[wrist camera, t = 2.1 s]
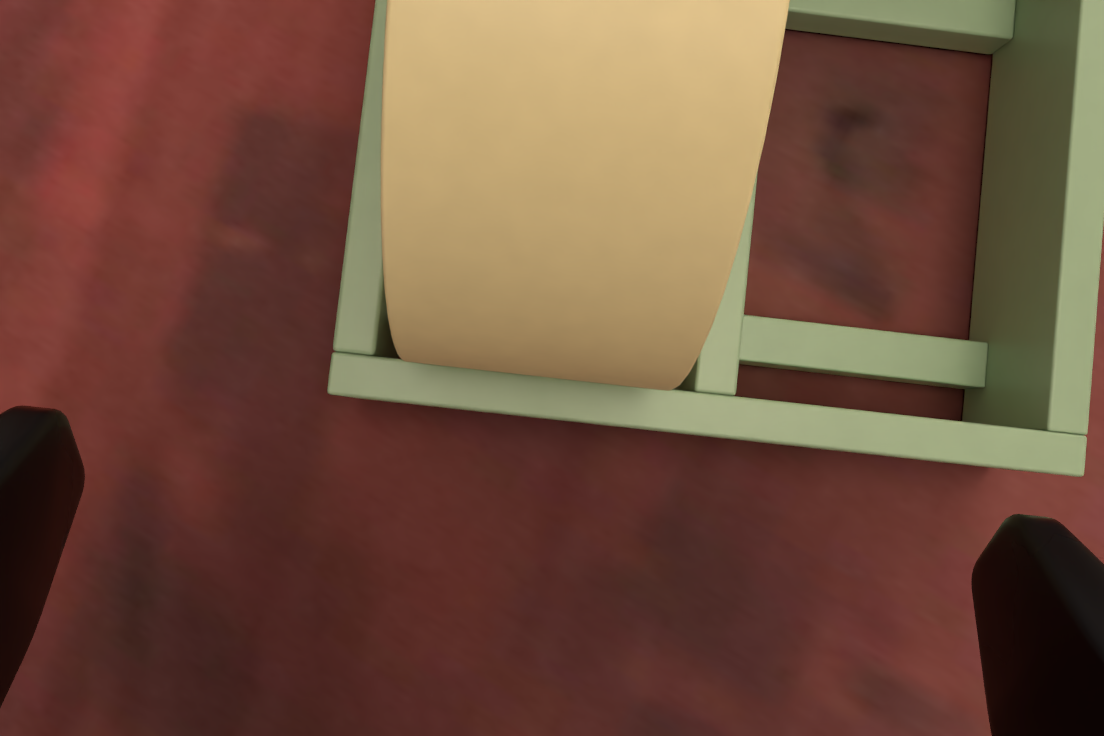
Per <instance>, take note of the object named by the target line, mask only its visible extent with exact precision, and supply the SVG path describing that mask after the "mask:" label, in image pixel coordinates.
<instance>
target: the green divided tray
mask: <svg viewBox="0 0 1104 736" xmlns="http://www.w3.org/2000/svg"><path fill="white" fill-rule="evenodd" d="M386 8H387V0H375V8H374V16H373V25H372V33H371V41H370V49H369V57H368V65H367V73H366V81H365V90H364V98H363V106H362V114H361V122H360V130H359V138H358V146H357V155H356V163H355V171H354V179H353V187H352V195H351V203H350V211H349V219H348V228H347V236H346V244H345V252H344V260H343V268H342V276H341V284H340V293H339V301H338V309H337V317H336V325H335V333H334V341H333V349H334V351H336V352H334V353H332V355H331V364H330V372H329V380H328V388H327V392H328V394H330V395H336V396H344V397H352V398H359V399H368V400H377V401H386V402H396V403H405V404H414V405H423V406H432V407H441V408H450V409H459V410H469V411H478V412H487V413H496V414H505V415H514V416H523V417H533V418H542V419H551V420H560V421H569V422H578V423H587V424H596V425H606V426H615V427H624V428H633V429H642V430H651V431H660V432H669V433H679V434H688V435H697V436H706V437H715V438H724V439H733V440H743V441H752V442H761V443H770V444H779V445H788V446H797V447H806V448H816V449H825V450H834V451H843V452H852V453H861V454H870V455H879V456H889V457H898V458H907V459H916V460H925V461H934V462H943V463H953V464H962V465H971V466H980V467H989V468H999V469H1008V470H1018V471H1028V472H1038V473H1048V474H1057V475H1067V476H1077V477H1081V476H1083V475H1084V469H1085V455H1086V442H1087V438H1086V436H1084V435H1085V434H1087V432H1088V419H1089V406H1090V393H1091V379H1092V366H1093V353H1094V340H1095V327H1096V313H1097V300H1098V287H1099V274H1100V261H1101V247H1102V234H1103V221H1104V0H790V2H789V9H788V16H787V21H786V27H785V29H791V30H799V31H807V32H815V33H823V34H831V35H839V36H847V37H855V38H863V39H871V40H879V41H887V42H895V43H903V44H911V45H919V46H927V47H935V48H943V49H951V50H959V51H967V52H975V53H983V54H993V59H992V71H991V83H990V95H989V107H988V119H987V131H986V143H985V155H984V167H983V179H982V191H981V203H980V215H979V227H978V239H977V251H976V263H975V275H974V287H973V299H972V311H971V322H970V334H969V340H961V339H952V338H943V337H934V336H926V335H917V334H908V333H899V332H891V331H882V330H873V329H864V328H856V327H847V326H838V325H829V324H821V323H812V322H803V321H794V320H786V319H777V318H768V317H759V316H751V315H744V306H745V296H746V285H747V275H748V265H749V255H750V244H751V234H752V224H753V214H754V204H755V193H756V183H757V175H756V179H755V183H754V188H753V192H752V196H751V200H750V204H749V208H748V212H747V215H746V219H745V223H744V227H743V231H742V234H741V238H740V242H739V246H738V249H737V253H736V256H735V259H734V262H733V266H732V269H731V272H730V275H729V279H728V282H727V285H726V288H725V292H724V294H723V297H722V300H721V303H720V306H719V308H718V311H717V314H716V317H715V319H714V322H713V325H712V327H711V330H710V332H709V334H708V337H707V339H706V341H705V343H704V346H703V348H702V350H701V353H700V355H699V356H698V358H697V360H696V362H695V364H694V365H693V367H692V369H691V371H690V373H689V374H688V375H687V377H686V378H685V379H684V380H683V382H682V383H681V384H680V385H679V386H677V387H676V388H674V389H672V390H670V391H666V390H657V389H648V388H639V387H630V386H621V385H612V384H603V383H594V382H585V381H576V380H567V379H558V378H549V377H540V376H531V375H522V374H513V373H504V372H495V371H486V370H477V369H468V368H459V367H450V366H441V365H432V364H423V363H414V362H405V361H403V360H402V359H398V354H397V351H396V349H395V346H394V343H393V340H392V336H391V331H390V326H389V321H388V314H387V306H386V298H385V289H384V275H383V260H382V236H381V116H382V84H383V62H384V41H385V22H386ZM757 173H758V170H757ZM739 364H743V365H752V366H761V367H770V368H778V369H787V370H796V371H805V372H814V373H823V374H832V375H841V376H850V377H859V378H867V379H876V380H885V381H894V382H903V383H912V384H921V385H930V386H939V387H947V388H956V389H965V394H964V406H963V418H962V421H953V420H944V419H935V418H926V417H917V416H908V415H899V414H890V413H881V412H872V411H863V410H854V409H845V408H836V407H827V406H818V405H809V404H800V403H791V402H782V401H773V400H764V399H755V398H746V397H737V396H734V395H735V394H736V388H737V377H738V367H739Z"/></svg>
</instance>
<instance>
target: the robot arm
mask: <svg viewBox="0 0 1104 736" xmlns="http://www.w3.org/2000/svg"><path fill="white" fill-rule="evenodd" d="M84 480H85V473H84V466H83V463H82V460H81V457H80V454H79V451H78V448H77V445H76V442H75V439H74V436H73V433H72V430H71V427H70V424H69V421H68V419H67V417H66V416H65V415H64V414H63V413H62V412H61V411H59V410H56V409H50V408H41V407H32V406H16V407H13V408H10V409H8V410H7V411H5V412H3V413H2V414H0V707H1V705H2V703H3V701H4V699H5V697H6V694H7V692H8V690H9V688H10V686H11V684H12V682H13V680H14V677H15V675H16V673H17V671H18V669H19V667H20V665H21V663H22V661H23V658H24V656H25V654H26V651H27V649H28V647H29V645H30V642H31V640H32V638H33V635H34V633H35V630H36V627H37V624H38V622H39V619H40V616H41V614H42V611H43V608H44V605H45V602H46V599H47V596H48V593H49V590H50V587H51V584H52V581H53V578H54V575H55V572H56V569H57V566H58V563H59V560H60V557H61V554H62V551H63V548H64V546H65V543H66V540H67V537H68V534H69V531H70V528H71V525H72V522H73V519H74V516H75V513H76V510H77V507H78V504H79V501H80V498H81V495H82V492H83V487H84ZM972 594H973V602H974V610H975V617H976V625H977V633H978V640H979V648H980V656H981V664H982V671H983V679H984V687H985V694H986V702H987V710H988V716H989V722H990V728H991V734H992V736H1104V564H1103V563H1102V562H1101V561H1100V560H1099V559H1098V558H1097V557H1096V556H1095V555H1094V554H1093V553H1092V552H1091V551H1090V550H1089V549H1088V548H1087V547H1086V546H1084V545H1083V544H1082V543H1081V542H1080V541H1079V540H1078V539H1077V538H1076V537H1075V536H1074V535H1073V534H1072V533H1071V532H1070V531H1069V530H1068V529H1067V528H1066V527H1065V526H1064V525H1062V524H1061V523H1060V522H1058V521H1057V520H1055V519H1052V518H1048V517H1040V516H1031V515H1022V514H1015V515H1012V516H1010V517H1008V518H1006V519H1005V520H1004V522H1003V523H1002V524H1001V526H1000V527H999V529H998V530H997V532H996V533H995V535H994V536H993V538H992V539H991V541H990V542H989V544H988V545H987V546H986V548H985V549H984V551H983V552H982V554H981V555H980V557H979V558H978V560H977V562H976V563H975V566H974V569H973V573H972Z"/></svg>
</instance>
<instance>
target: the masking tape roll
mask: <svg viewBox="0 0 1104 736" xmlns="http://www.w3.org/2000/svg"><path fill="white" fill-rule="evenodd" d="M789 2H790V0H387V8H386V22H385V41H384V62H383V84H382V116H381V236H382V260H383V275H384V289H385V298H386V306H387V314H388V321H389V326H390V331H391V336H392V340H393V343H394V346H395V349H396V351H397V354H398V355H399V357H400V358H401V359H402V360H403V361H405V362H414V363H423V364H432V365H441V366H450V367H459V368H468V369H477V370H486V371H495V372H504V373H513V374H522V375H531V376H540V377H549V378H558V379H567V380H576V381H585V382H594V383H603V384H612V385H621V386H630V387H639V388H648V389H657V390H666V391H670V390H672V389H674V388H676V387H677V386H679V385H680V384H681V383H682V382H683V380H684V379H685V378H686V377H687V375H688V374H689V373H690V371H691V369H692V367H693V365H694V364H695V362H696V360H697V358H698V356H699V355H700V353H701V350H702V348H703V346H704V343H705V341H706V339H707V337H708V334H709V332H710V330H711V327H712V325H713V322H714V319H715V317H716V314H717V311H718V308H719V306H720V303H721V300H722V297H723V294H724V292H725V288H726V285H727V282H728V279H729V275H730V272H731V269H732V266H733V262H734V259H735V256H736V253H737V249H738V246H739V242H740V238H741V234H742V231H743V227H744V223H745V219H746V215H747V212H748V208H749V204H750V200H751V196H752V192H753V188H754V183H755V179H756V175H757V170H758V166H759V162H760V157H761V153H762V149H763V144H764V140H765V135H766V130H767V125H768V120H769V115H770V110H771V105H772V100H773V95H774V90H775V85H776V80H777V74H778V68H779V62H780V57H781V51H782V45H783V39H784V33H785V27H786V21H787V16H788V9H789Z"/></svg>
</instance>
